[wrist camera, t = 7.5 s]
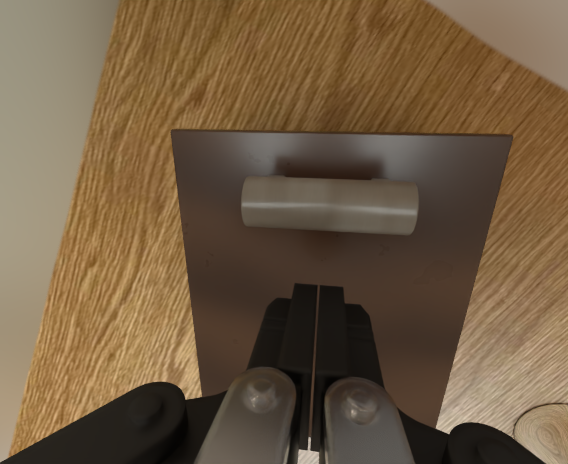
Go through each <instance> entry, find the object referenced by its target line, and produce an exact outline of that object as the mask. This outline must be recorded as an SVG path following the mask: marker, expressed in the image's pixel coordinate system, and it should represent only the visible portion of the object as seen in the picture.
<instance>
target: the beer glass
mask: <svg viewBox="0 0 568 464" xmlns="http://www.w3.org/2000/svg"><path fill="white" fill-rule="evenodd" d="M514 436H515V439H516V441H517V442H519V443H520V444H521V445H522V446H524V447H525V448H526V449H528V450H529V451H530V452H532V453H533V454H534V455H535V456H537V457H538V458H539V459H541V460H542V461H543V462H545V463H546V464H568V405H564V404H550V405H544V406H540V407H537V408H534V409H532V410H530V411H528V412H527V413H525V414H524V415H523V416H522V417H521V418H520V419H519V420H518V422H517V423H516V425H515V429H514Z"/></svg>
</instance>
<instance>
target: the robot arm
mask: <svg viewBox="0 0 568 464" xmlns="http://www.w3.org/2000/svg"><path fill="white" fill-rule="evenodd" d="M317 289H318V285H314V284H302V283H295V284H294V289H293V294H292V299H289V298H278V297H277V298H276V299H275V300H273V301H272V302H271V303H270V304H269V305H268V306H267V308H266V311H265V314H264V317H263V320H262V323H261V326H260V330H259V332H258V335H257V338H256V342H255V345H254V348H253V351H252V354H251V357H250V360H249V363H248V366H247V369H246V371H244V372H243V373H241V374H239V375H238V376H237V377H236V378H235V379H234V380H233V381H232V383H231V385H230V386H229V388H228V390H226V391H224V392H222V393H219V394H216V395H212V396H206V397H200V398H194V399H188V400H185V396H184V394H183V392H182V390H181V389H180V388H179V387H177V386H176V385H174V384H171V383H168V382H152V383H148V384H144V385H142V386H139V387H137V388H135V389H133V390H131V391H129V392H128V393H126V394H124V395H122V396H120V397H118V398H117V399H115V400H113V401H111V402H109V403H108V404H106V405H104V406H102V407H100V408H98V409H97V410H95V411H93V412H91V413H89V414H88V415H86V416H84V417H82V418H80V419H79V420H77V421H75V422H73V423H71V424H69V425H68V426H66V427H64V428H62V429H60V430H59V431H57V432H55V433H53V434H51V435H49V436H48V437H46V438H44V439H42V440H40V441H39V442H37V443H35V444H33V445H31V446H29V447H28V448H26V449H24V450H22V451H20V452H19V453H17V454H15V455H13V456H11V457H10V458H8V459H6V460H4V461H2V462H0V464H297V462H298V451H299V449H301V450H308V435H309V419H310V403H311V388H312V372H313V356H314V341H315V324H316V307H317ZM310 451H316V452H319V464H546V463H545V462H543V461H542V460H541V459H539V458H538V457H537V456H535V455H534V454H533V453H532V452H530V451H529V450H528V449H526V448H525V447H524V446H522V445H521V444H520V443H519V442H517V441H516V440H514V439H513V438H512V437H510V436H509V435H507V434H505V433H504V432H502V431H500V430H498V429H496V428H493V427H491V426H488V425H485V424H480V423H473V422H469V423H462V424H459V425H457V426H456V427H454V428H453V429H452V430H451V432H450V434H447V433H444V432H442V431H440V430H437V429H435V428H432V427H430V426H427V425H425V424H423V423H420V422H418V421H416V420H414V419H413V418H411V417H409V416H408V415H406V414H405V413H404V412H402V411H401V410H400V409H399V408H398V407H397V406H396V404H395V402H394V400H393V398H392V397H391V396H390V394H389V393H388V392H387V391H386V390H385V387H384V383H383V378H382V373H381V368H380V363H379V359H378V354H377V349H376V344H375V342H374V335H373V331H372V325H371V320H370V316H369V314H368V313H367V312H366V311H365V310H364V308H363V307H362V306H361V305H360V304H349V303H345V300H344V289H343V287H340V286H328V285H320V290H319V307H318V323H317V340H316V358H315V376H314V395H313V413H312V431H311V449H310Z"/></svg>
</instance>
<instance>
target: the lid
mask: <svg viewBox="0 0 568 464" xmlns="http://www.w3.org/2000/svg"><path fill="white" fill-rule="evenodd" d="M171 139H172V147H173V156H174V164H175V172H176V181H177V189H178V198H179V206H180V214H181V223H182V231H183V240H184V248H185V256H186V265H187V273H188V282H189V290H190V298H191V307H192V315H193V324H194V332H195V340H196V349H197V357H198V366H199V374H200V382H201V391H202V397H206V396H212V395H216V394H219V393H222V392H224V391H226V390H228V388H229V386H230V385H231V383H232V381H233V380H234V379H235V378H236V377H237V376H238V375H239V374H241V373H243V372H244V371H246V369H247V366H248V363H249V360H250V357H251V354H252V351H253V348H254V345H255V342H256V338H257V335H258V332H259V330H260V326H261V323H262V320H263V317H264V314H265V311H266V308H267V306H268V305H269V304H270V303H271V302H272V301H273V300H275V299H276V298H277V297H278V298H289V299H292V294H293V289H294V284H295V283H302V284H314V285H318V289H317V307H316V324H315V341H314V356H313V372H312V388H311V403H310V419H309V435H308V437H311V431H312V413H313V395H314V376H315V358H316V340H317V323H318V307H319V290H320V285H328V286H340V287H343V289H344V300H345V303H349V304H360V305H361V306H362V307H363V308H364V310H365V311H366V312H367V313H368V314H369V316H370V320H371V325H372V331H373V335H374V342H375V344H376V349H377V354H378V359H379V363H380V368H381V373H382V378H383V383H384V387H385V390H386V391H387V392H388V393H389V394H390V396H391V397H392V398H393V400H394V402H395V404H396V406H397V407H398V408H399V409H400V410H401V411H402V412H404V413H405V414H406V415H408V416H409V417H411V418H413V419H414V420H416V421H418V422H420V423H423V424H425V425H427V426H430V427H432V428H436V425H437V421H438V417H439V413H440V410H441V406H442V402H443V398H444V395H445V391H446V387H447V383H448V380H449V376H450V372H451V368H452V365H453V361H454V357H455V353H456V350H457V346H458V342H459V338H460V335H461V331H462V327H463V324H464V320H465V316H466V312H467V309H468V305H469V301H470V297H471V294H472V290H473V286H474V282H475V279H476V275H477V271H478V267H479V264H480V260H481V256H482V252H483V249H484V245H485V241H486V237H487V234H488V230H489V226H490V222H491V219H492V215H493V211H494V207H495V204H496V200H497V196H498V193H499V189H500V185H501V181H502V178H503V174H504V170H505V166H506V163H507V159H508V155H509V151H510V148H511V144H512V140H513V136H512V135H508V134H473V133H410V132H348V131H286V130H223V129H172V130H171Z"/></svg>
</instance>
